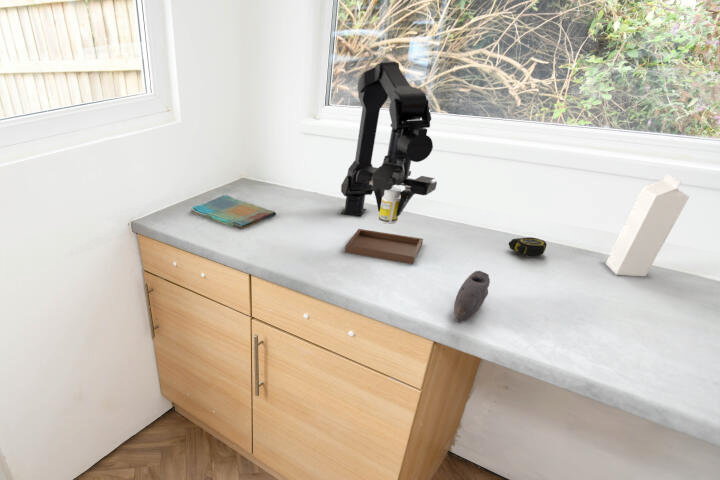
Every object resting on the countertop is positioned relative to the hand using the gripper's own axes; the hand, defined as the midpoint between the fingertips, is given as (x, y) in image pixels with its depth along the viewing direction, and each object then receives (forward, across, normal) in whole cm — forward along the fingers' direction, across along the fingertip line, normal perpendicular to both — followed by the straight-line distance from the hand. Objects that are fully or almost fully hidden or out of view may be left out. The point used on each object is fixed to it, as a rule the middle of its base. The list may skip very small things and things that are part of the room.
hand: (388, 213), depth 123 cm
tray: (+10, 0, 0) cm, 10 cm away
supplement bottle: (+2, 0, 0) cm, 2 cm away
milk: (+10, +50, +25) cm, 56 cm away
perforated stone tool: (+10, +29, -18) cm, 36 cm away
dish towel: (+10, -50, -6) cm, 51 cm away
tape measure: (+10, +29, +20) cm, 37 cm away
